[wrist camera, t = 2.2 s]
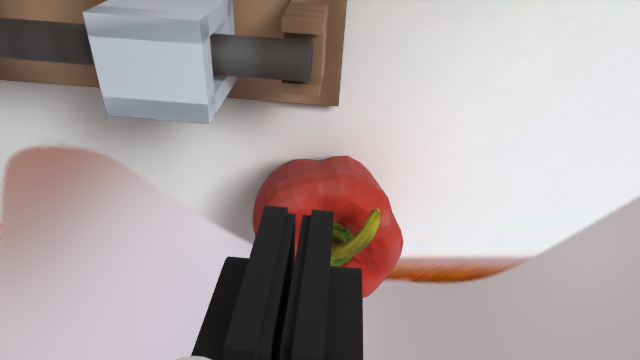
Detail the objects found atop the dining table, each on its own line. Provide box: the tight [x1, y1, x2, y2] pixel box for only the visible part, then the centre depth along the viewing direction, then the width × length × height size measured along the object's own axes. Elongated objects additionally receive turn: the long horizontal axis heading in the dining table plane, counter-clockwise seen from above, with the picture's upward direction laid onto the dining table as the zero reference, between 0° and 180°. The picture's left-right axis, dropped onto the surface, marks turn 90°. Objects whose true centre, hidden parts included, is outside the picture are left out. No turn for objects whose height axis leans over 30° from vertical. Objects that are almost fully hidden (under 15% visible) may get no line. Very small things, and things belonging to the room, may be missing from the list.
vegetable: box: [253, 156, 403, 298], centre depth 31 cm, size 11×10×10 cm
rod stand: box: [0, 0, 347, 106], centre depth 25 cm, size 29×10×9 cm, turn 87°
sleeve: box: [83, 0, 237, 124], centre depth 22 cm, size 5×5×6 cm
